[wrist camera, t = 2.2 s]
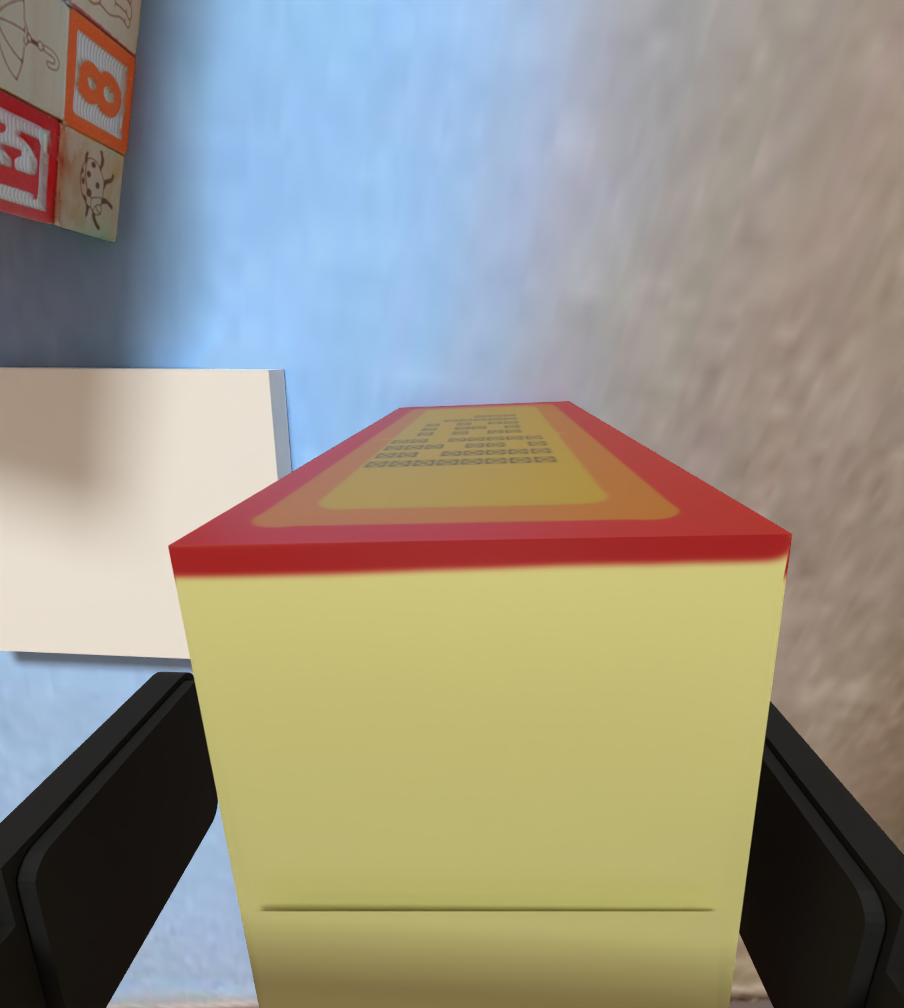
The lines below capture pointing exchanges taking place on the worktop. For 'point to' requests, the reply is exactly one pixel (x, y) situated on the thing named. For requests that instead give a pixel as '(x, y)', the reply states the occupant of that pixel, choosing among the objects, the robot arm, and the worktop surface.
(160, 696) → the robot arm
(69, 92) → the stack of blocks
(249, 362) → the worktop surface
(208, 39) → the worktop surface
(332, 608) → the baking soda box
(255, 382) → the cutting board
